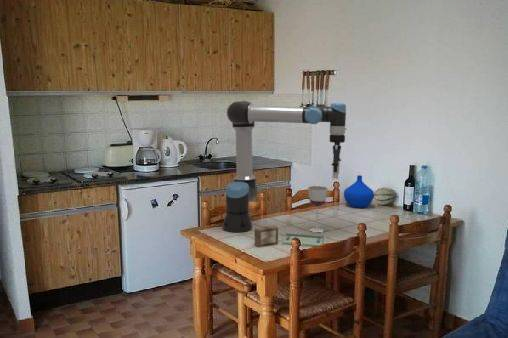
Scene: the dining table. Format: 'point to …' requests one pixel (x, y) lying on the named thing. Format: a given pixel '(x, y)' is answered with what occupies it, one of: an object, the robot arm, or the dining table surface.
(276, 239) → the frame
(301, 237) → the ledge board
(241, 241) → the dining table surface
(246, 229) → the robot arm
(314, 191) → the wineglass
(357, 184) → the vase
